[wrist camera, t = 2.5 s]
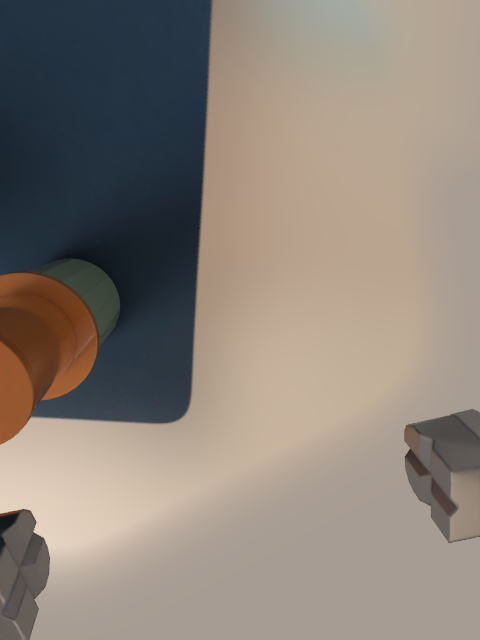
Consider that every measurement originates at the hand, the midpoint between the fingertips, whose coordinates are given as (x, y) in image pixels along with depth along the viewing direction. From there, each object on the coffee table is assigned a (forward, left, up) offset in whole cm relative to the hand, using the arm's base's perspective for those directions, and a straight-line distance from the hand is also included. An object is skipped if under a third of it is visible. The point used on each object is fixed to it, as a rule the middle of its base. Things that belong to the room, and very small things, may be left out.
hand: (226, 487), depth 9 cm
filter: (+12, -3, -22) cm, 25 cm away
